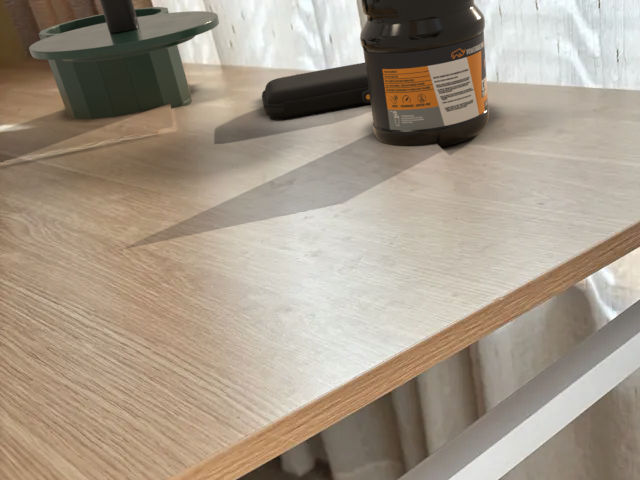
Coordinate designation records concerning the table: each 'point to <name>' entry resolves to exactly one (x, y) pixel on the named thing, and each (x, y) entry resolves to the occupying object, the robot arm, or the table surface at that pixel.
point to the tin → (119, 77)
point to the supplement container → (425, 70)
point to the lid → (124, 34)
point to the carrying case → (316, 92)
